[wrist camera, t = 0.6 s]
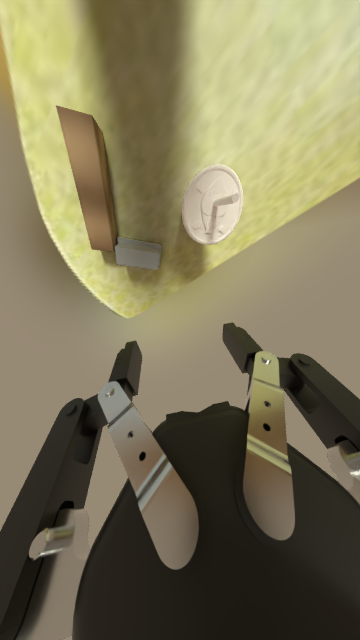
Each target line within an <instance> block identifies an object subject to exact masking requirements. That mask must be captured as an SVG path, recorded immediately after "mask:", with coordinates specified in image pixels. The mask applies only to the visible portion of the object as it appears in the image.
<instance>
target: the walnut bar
mask: <svg viewBox="0 0 360 640" xmlns="http://www.w3.org/2000/svg"><path fill="white" fill-rule="evenodd" d="M56 107H57V111H58V115H59V119H60V123H61V127H62V131H63V136H64V140H65V144H66V148H67V152H68V156H69V160H70V164H71V168H72V172H73V176H74V180H75V184H76V188H77V192H78V196H79V200H80V204H81V208H82V212H83V216H84V220H85V224H86V228H87V232H88V236H89V240H90V244H91V248H92V249H94V250H103V251H113V252H114V251H115V246H116V245H117V244H118V242H117V234H116V227H115V219H114V212H113V205H112V198H111V190H110V183H109V176H108V169H107V161H106V154H105V147H104V139H103V132H102V131H101V129H100V128H99V126H98V124H97V123H96V121H95V120H94V118H93V116H92V115H89V114H85V113H81V112H78V111H74V110H71V109H67V108H64V107H60V106H56Z"/></svg>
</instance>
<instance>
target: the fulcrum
mask: <svg viewBox="0 0 360 640" xmlns="http://www.w3.org/2000/svg"><path fill="white" fill-rule="evenodd" d="M117 242H118V244H117V245H116V246H115V254H116V264H117V265H124V266H131V267H138V268H145V269H152V270H158V267H160V258H161V247H162V245H161V244H156V243H151V242H146V241H140V240H135V239H130V238H124V237H119V236H118V237H117Z"/></svg>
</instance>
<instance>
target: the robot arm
mask: <svg viewBox="0 0 360 640" xmlns="http://www.w3.org/2000/svg"><path fill="white" fill-rule="evenodd" d="M223 342H224V344H225V345H226V347H227V349H228V350H229V352H230V354H231V355H232V357H233V359H234V360H235V362H236V364H237V365H238V367H239V368H240V370H241V372H242V373H248V374H249V380H248V386H247V393H246V400H245V404H244V409H241V408H238V407H235V406H230V405H229V402H228V401H227V402H222V403H217V404H213V405H211V406H210V407H208V408H206V409H204V410H202V411H201V412H198V413H195V412H184V411H181V412H177V413H171V414H167V415H166V420H165V421H163V422H162V423H161V424H160V425H159V426H158V427H157V428H156V429H155V430H154V431H153V432H152V431H151V430H150V428H149V426H148V425H147V424H146V422H145V421H144V419H143V418H142V416H141V415H140V413H139V412H138V410H137V409H136V407H135V406H134V404H133V403H132V397H133V396H135V395H138V387H139V379H140V371H141V363H142V354H141V351H140V349H139V346H138V344H137V342H136V341H132V342H127V343H126V346H125V349H122V350H121V351H120V352H119V353H118V354H117V358H116V361H115V363H114V367H113V370H112V373H111V376H110V379H109V382H108V383H107V384H106V385H105V386H103V387H102V388H101V390H100V391H99V393H98V394H97V395H95V396H93V397H91V398H89V399H87V400H85V401H84V400H83V399H81V398H76V399H74V400H72V401H70V402H69V403H67V404H66V405H65V406H64V407H63V408H62V409H61V411H60V413H59V414H58V417H57V418H56V421H55V423H54V425H53V426H52V428H51V431H50V433H49V435H48V437H47V439H46V441H45V443H44V445H43V447H42V449H41V451H40V453H39V455H38V457H37V459H36V461H35V463H34V465H33V467H32V469H31V471H30V473H29V475H28V477H27V479H26V481H25V483H24V485H23V487H22V489H21V491H20V493H19V495H18V497H17V499H16V501H15V503H14V506H13V507H12V509H11V511H10V513H9V515H8V517H7V519H6V521H5V523H4V525H3V527H2V529H1V531H0V640H63V639H65V638H67V637H70V636H72V640H360V399H359V398H358V397H356V396H355V395H354V394H353V393H352V392H351V391H349V390H348V389H347V388H346V387H345V386H344V385H343V384H341V383H340V382H339V381H338V380H337V379H336V378H335V377H333V376H332V375H331V374H330V373H329V372H327V370H325V369H324V368H323V367H322V366H321V365H320V364H318V363H317V362H316V361H315V360H314V359H312V358H311V357H309V356H307V355H304V354H293V355H292V356H291V358H278V357H276V356H274V355H273V354H271V353H269V352H266V351H263V350H262V349H261V347H260V346H259V345H258V344H257V343H256V342H255V341H254V340H253V339H252V338H251V336H250V335H248V333H247V332H246V331H245V330H244V329H242V328H240V327H236V326H235V325H234V323H227V324H224V326H223ZM282 388H283V389H284V391H285V392H286V393H287V395H288V396H289V397H290V399H291V400H292V401H293V403H294V404H295V406H296V407H297V408H298V410H299V411H300V412H301V414H302V415H303V416H304V418H305V419H306V421H307V422H308V423H309V425H310V426H311V427H312V429H313V430H314V431H315V433H316V434H317V436H318V437H319V438H320V440H321V441H322V442H323V444H324V445H325V446H326V448H327V449H328V451H327V457H328V460H329V462H330V466H331V469H332V470H333V472H334V473H335V474H336V475H337V478H338V481H336V480H335V479H334V478H332V477H331V476H330V475H328V474H327V473H326V472H325V471H323V470H322V469H321V468H320V467H318V466H317V465H316V464H314V463H313V462H312V461H310V460H309V459H308V458H307V457H305V456H304V455H303V454H301V453H300V452H299V451H298V450H296V449H295V448H294V447H292V446H291V445H290V444H288V443H287V439H286V423H285V409H284V408H285V407H284V392H283V389H282ZM309 388H310V389H309ZM108 423H109V425H108V430H109V433H110V435H111V437H112V439H113V442H114V444H115V447H116V449H117V451H118V454H119V456H120V458H121V461H122V463H123V466H124V468H125V470H126V472H127V475H128V479H127V481H126V483H125V485H124V487H123V489H122V490H121V492H120V494H119V496H118V498H117V500H116V502H115V504H114V506H113V507H112V509H111V511H110V513H109V515H108V517H107V519H106V521H105V522H104V525H103V526H102V528H101V530H100V532H99V534H98V536H97V538H96V539H95V542H94V544H93V546H92V548H91V550H90V548H89V544H88V531H89V516H88V513H87V511H86V510H85V509H84V505H85V501H86V497H87V492H88V488H89V484H90V479H91V475H92V471H93V466H94V462H95V458H96V453H97V450H98V445H99V441H100V437H101V432H102V428H103V426H105V425H107V424H108Z"/></svg>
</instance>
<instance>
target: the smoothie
mask: <svg viewBox="0 0 360 640" xmlns="http://www.w3.org/2000/svg"><path fill="white" fill-rule="evenodd" d="M242 207H243V190H242V186H241V183H240V180H239V178H238V176H237V175H236V173H235V172H234V171H233V170H232V169H231V168H229V167H227V166H225V165H222V164H214V165H210V166H208V167H206V168H204V169H202V170H201V171H200V172H199V173H197V174H196V175H195V176H194V177H193V179H192V180H191V181H190V183H189V184H188V186H187V189H186V191H185V193H184V197H183V202H182V220H183V225H184V227H185V229H186V231H187V233H188V235H189V236H190V237H191V238H192V239H193V240H194V241H196V242H197V243H200V244H205V245H213V244H217V243H219V242H221V241H223V240H224V239H225V238H227V237H228V236H229V235H230V234H231V232H232V231H233V230H234V228H235V227H236V225H237V223H238V221H239V218H240V215H241V212H242Z"/></svg>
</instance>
